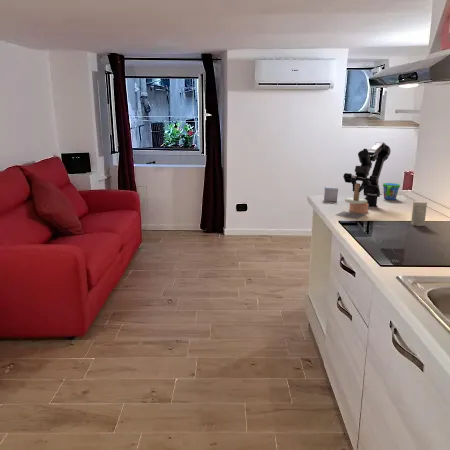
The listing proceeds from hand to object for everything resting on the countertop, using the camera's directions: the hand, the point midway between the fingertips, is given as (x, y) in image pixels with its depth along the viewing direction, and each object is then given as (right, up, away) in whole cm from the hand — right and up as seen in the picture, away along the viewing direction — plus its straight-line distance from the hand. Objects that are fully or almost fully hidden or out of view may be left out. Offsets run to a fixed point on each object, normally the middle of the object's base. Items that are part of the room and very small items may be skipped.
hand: (356, 191), depth 242 cm
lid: (+1, -5, +3) cm, 6 cm away
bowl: (+4, -11, +9) cm, 15 cm away
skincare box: (+26, -19, -17) cm, 37 cm away
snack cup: (+37, -2, +49) cm, 61 cm away
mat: (-4, -14, -1) cm, 14 cm away
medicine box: (-5, -3, +38) cm, 39 cm away
